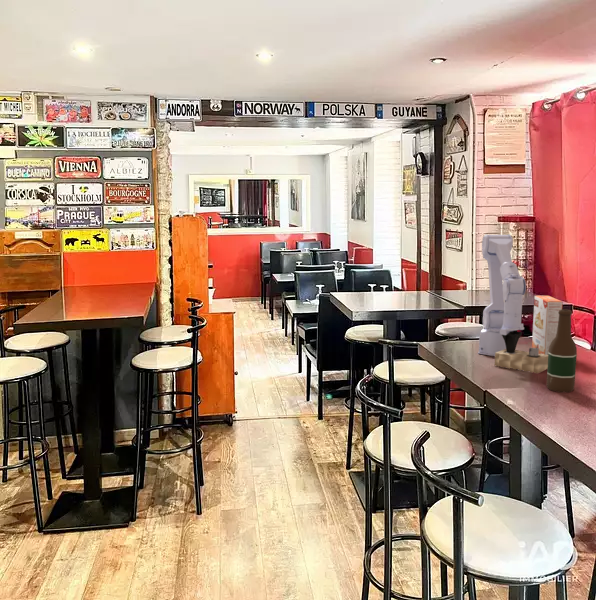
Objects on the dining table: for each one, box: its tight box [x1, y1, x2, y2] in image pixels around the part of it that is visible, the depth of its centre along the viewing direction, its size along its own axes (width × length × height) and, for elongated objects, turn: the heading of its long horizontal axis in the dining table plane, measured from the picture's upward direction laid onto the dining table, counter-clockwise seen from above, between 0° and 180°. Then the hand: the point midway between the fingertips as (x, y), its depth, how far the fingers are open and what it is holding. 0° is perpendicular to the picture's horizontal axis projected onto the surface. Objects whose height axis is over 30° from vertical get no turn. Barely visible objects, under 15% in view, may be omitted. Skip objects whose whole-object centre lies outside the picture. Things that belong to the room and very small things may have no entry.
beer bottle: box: [546, 308, 578, 393], centre depth 194 cm, size 8×8×24 cm
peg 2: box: [528, 347, 539, 358], centre depth 218 cm, size 3×3×4 cm
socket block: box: [494, 349, 548, 374], centre depth 221 cm, size 15×9×4 cm, turn 49°
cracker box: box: [531, 295, 564, 355], centre depth 240 cm, size 14×6×21 cm, turn 178°
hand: (510, 352), depth 223 cm, fingers closed, pressing on peg 1
